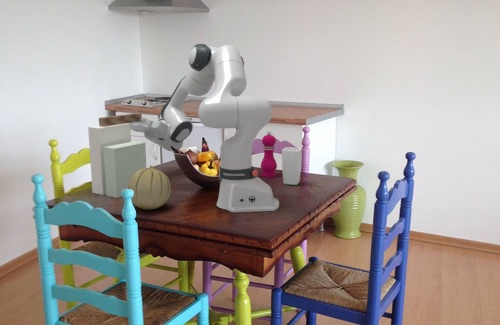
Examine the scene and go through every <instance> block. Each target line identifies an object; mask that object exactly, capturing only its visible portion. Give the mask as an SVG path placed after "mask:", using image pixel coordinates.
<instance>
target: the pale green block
mask: <svg viewBox="0 0 500 325" xmlns="http://www.w3.org/2000/svg"><path fill="white" fill-rule="evenodd" d="M103 149H104V166H105V182H106V194H105V196H106V197H109V198H116V199H118V198H122V197H121V194H120V193H121V191H122V190H123V189H127V188H128V184H129V181H130V179H131V177H132V176H133V175H134V174H135V173H136V172H137V171H138V170H140V169H144V168H147V149H146V142H142V141H136V140H134V141H131V142H128V143H122V144H117V145H112V146H107V147H103Z"/></svg>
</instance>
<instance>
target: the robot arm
mask: <svg viewBox="0 0 500 325" xmlns="http://www.w3.org/2000/svg"><path fill="white" fill-rule="evenodd" d="M188 64H189V66H190V69H189V71H188V73H187V75H185V76H184V77H182V78H181V80H180V81H179V82H178V84H177V85H176V88H175V89H174V91H173V92H172V94H171V96H170V97H169V99H168V100H167V102H166V103H165V104H164V105H163V106H162V108H161V110H160V117H161V118H162V120H163V121H164V122H163V121H161V120H152V119H148V118H146V117H143V116H142V117H141V118H140V121H139V122H132V123H130V128H131V131H133V132H136V133H143V135H144V137H145V139H147V140H148V141H149V142H152V143H153V144H157V146H158V147H160V148H162V149H164V150H166V151H168V152H174V151H173V150H172V148H171V146H172V147H174V148H175V149H179V150H180V149H181V148H182V147H183V145H184V140H187V138H188V137H189V136H190V135H191V134H192V131H193V129H194V126H193V124H192V122H191V120H190V118H189V117H188V115H187V114H186V112H185V110H184V102H185V101H186V99H187V98H188V96H189V95H191V96H194V97H203V96H205V95H207V94H208V93H209V92H210V90H211V89H212V87H213V84H214V83H215V87H214V90H213V92H212V93H211V94H210V95H209V96H207V97H206V98H204V99H203V100H202V101H201V103H200V104H199V107H198V109H197V110H198V111H197V113H198V114H197V115H198V119H199V121H200V122H201V124H202V125H203V126H204V127H207V128H213V129H237V130H236V132H235V134H234V135H233V136H231V137H229V138H227V139H225V140H224V141H223V142H222V143H221V146H220V149H219V151H220V154H219V156H220V166H219V170H218V178H219V183H220V184H219V193H218V199H217V202H216V206H217V207H218V208H220V209H222V210H226V211H229V212H230V213H249V212H250V213H251V212H252V213H253V212H270V211H271V212H274V211H276V210H278V209H279V208H280V201H279V199H278V198H275V197H274V193H273V190H272V187H271V186H270V184H268V183H266V182H265V181H263V180H262V179H261V178H259V177H258V174H259V171H258V168H257V167H255V166H253V165H252V164H253V162H252V160H253V146H254V142H255V140H256V138H257V135H258V134H259V133H260V131H261V130H263V128H264V127H265V126H267V125H268V124H269V123H270V121H271V119H272V117H273V106H272V104H271V102H270V101H269V100H268V99H267V98H266V97H261V96H255V95H242V94H243V93H244V91H245V90H246V88H247V85H248V84H247V83H248V82H247V78H246V71H245V61H244V58H243V57H242V56H241V54H240V52H239V50H238V49H237V47H235V46H234V45H232V44H224V45H221V46H219V47H217V46H214V45H213V46H212V45H207V44H204V43H196V44H195V45H194V46H192V48H191V50H190V52H189V56H188Z"/></svg>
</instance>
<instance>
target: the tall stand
mask: <svg viewBox="0 0 500 325" xmlns="http://www.w3.org/2000/svg"><path fill="white" fill-rule="evenodd" d="M87 129H88V131H87V132H88V143H89V144H88V146H89V158H90V159H89V160H90V174H91V175H90V176H91V188H92V189H91V190H92V194H96V195H101V196H104V195H105V196H106V182H105V166H104V149H103V147H107V146H112V145H117V144H122V143H128V142H132V134H131V133H132V130H131V128H130V123H126V124H119V125H112V126H106V127H102V126H99V125H94V126H88V127H87Z"/></svg>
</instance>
